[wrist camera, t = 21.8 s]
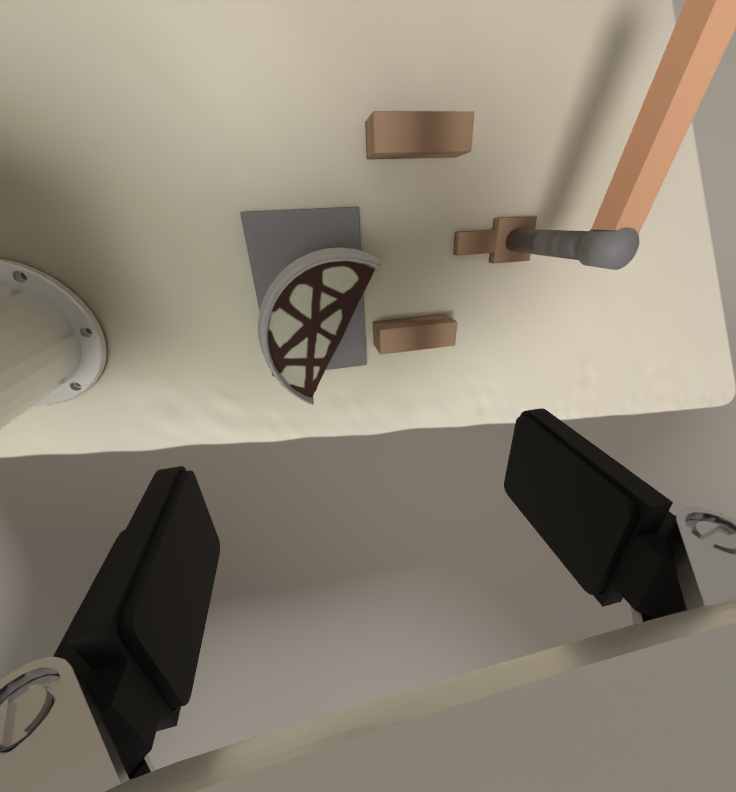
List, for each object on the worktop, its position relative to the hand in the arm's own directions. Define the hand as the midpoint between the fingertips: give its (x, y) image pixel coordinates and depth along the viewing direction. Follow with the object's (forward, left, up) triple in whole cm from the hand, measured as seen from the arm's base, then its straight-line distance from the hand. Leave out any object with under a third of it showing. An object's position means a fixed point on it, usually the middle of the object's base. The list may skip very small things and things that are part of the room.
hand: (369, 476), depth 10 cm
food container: (-1, 0, -26) cm, 26 cm away
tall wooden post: (+22, +11, -15) cm, 29 cm away
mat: (0, 0, -26) cm, 26 cm away
